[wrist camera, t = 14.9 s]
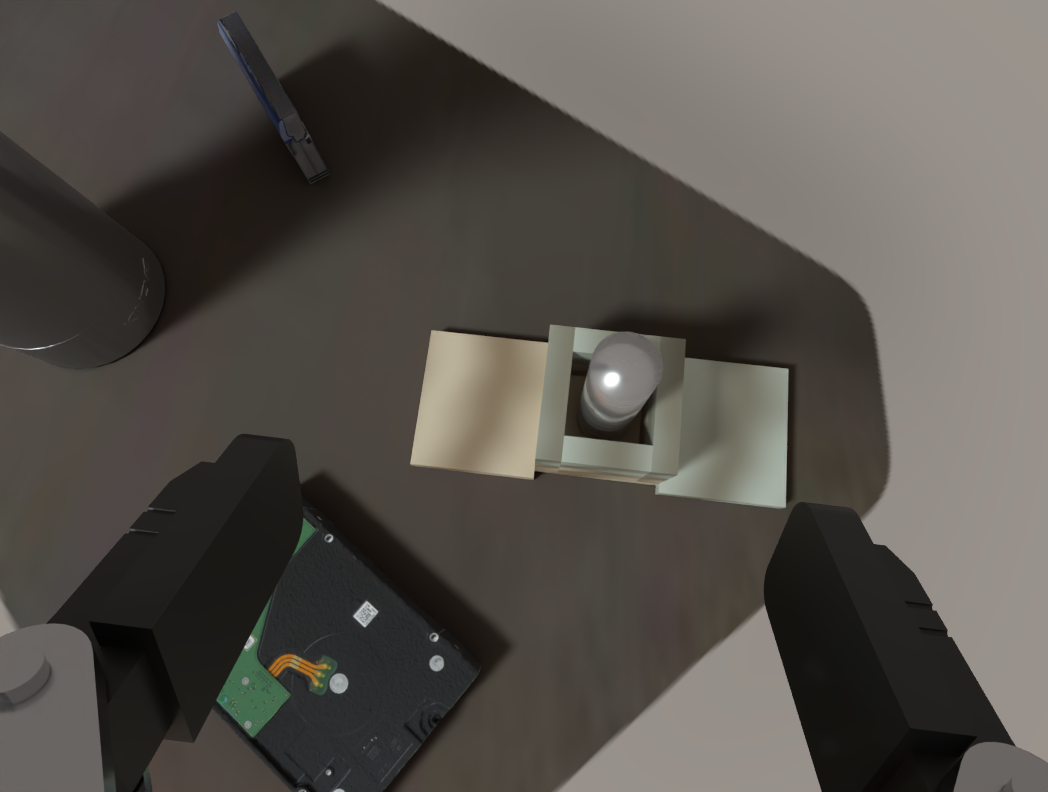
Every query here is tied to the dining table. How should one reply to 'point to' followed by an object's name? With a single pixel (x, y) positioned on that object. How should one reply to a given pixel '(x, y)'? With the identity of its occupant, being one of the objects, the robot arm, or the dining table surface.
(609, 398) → the hinge pin
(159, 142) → the dining table surface
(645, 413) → the hinge leaves
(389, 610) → the disk drive
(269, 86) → the mini dv tape
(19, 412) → the dining table surface
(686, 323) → the dining table surface
